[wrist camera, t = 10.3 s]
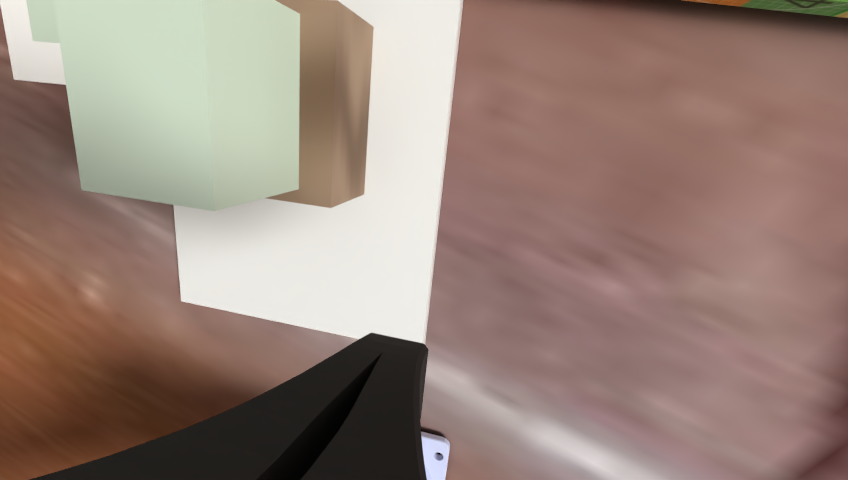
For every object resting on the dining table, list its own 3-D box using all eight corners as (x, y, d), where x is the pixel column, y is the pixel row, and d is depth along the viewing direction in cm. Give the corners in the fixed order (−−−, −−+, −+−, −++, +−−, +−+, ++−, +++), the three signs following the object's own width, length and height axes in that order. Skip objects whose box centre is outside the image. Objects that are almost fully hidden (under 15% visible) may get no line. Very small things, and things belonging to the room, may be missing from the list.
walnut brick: (364, 194, 18) (330, 208, 15) (230, 175, 20) (173, 184, 16) (373, 26, 16) (337, 0, 13) (224, 18, 18) (157, -8, 14)
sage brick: (298, 189, 15) (214, 211, 11) (196, 174, 16) (81, 190, 12) (300, 13, 14) (200, -40, 9) (186, 8, 14) (47, -44, 10)
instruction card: (174, 95, 20) (169, 95, 20) (18, 80, 22) (11, 79, 22) (160, -95, 18) (154, -99, 17) (-13, -95, 20) (-21, -98, 19)
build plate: (424, 346, 20) (422, 352, 20) (189, 296, 23) (181, 301, 22) (470, -65, 15) (468, -73, 15) (162, -69, 18) (150, -75, 17)
